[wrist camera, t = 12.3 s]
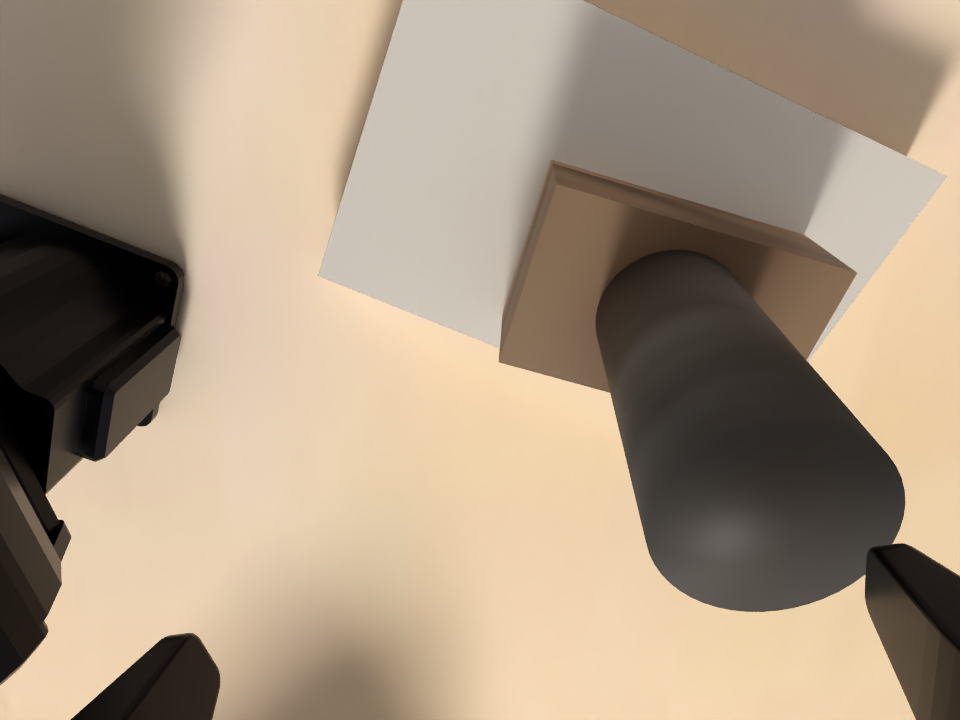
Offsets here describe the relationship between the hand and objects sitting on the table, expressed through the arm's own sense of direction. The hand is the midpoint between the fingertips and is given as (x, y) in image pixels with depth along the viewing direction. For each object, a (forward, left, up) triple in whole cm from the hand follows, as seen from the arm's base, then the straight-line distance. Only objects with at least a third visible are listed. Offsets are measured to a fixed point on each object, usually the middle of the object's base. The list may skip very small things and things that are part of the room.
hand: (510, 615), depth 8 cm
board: (+1, +3, -13) cm, 13 cm away
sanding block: (+3, +2, -11) cm, 12 cm away
